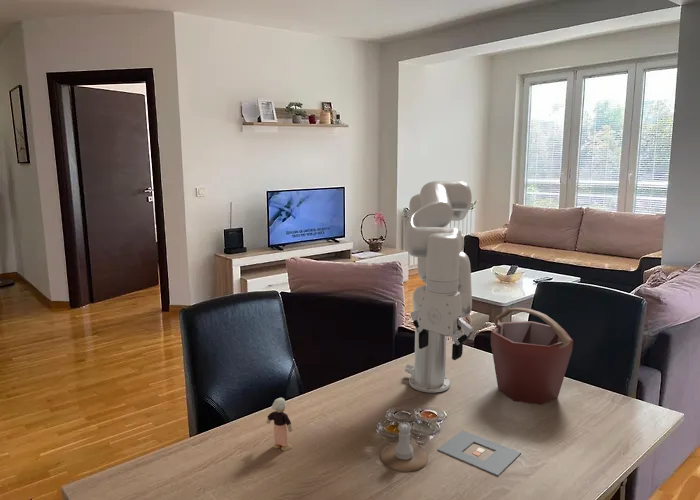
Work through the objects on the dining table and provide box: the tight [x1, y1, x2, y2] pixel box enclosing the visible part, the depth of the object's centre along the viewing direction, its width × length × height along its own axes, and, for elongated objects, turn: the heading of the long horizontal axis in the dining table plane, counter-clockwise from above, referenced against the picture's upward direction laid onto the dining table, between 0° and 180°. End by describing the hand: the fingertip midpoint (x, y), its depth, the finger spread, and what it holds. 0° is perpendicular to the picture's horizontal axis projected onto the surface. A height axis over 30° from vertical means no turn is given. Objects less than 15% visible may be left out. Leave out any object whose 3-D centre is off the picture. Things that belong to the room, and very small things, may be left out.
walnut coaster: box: [380, 443, 429, 473], centre depth 127 cm, size 11×11×1 cm
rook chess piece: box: [395, 421, 414, 460], centre depth 127 cm, size 4×4×8 cm
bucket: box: [490, 307, 574, 406], centre depth 160 cm, size 24×22×25 cm
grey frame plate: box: [436, 429, 522, 477], centre depth 130 cm, size 16×12×1 cm
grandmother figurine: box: [265, 397, 294, 452], centre depth 132 cm, size 8×4×13 cm, turn 71°
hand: (439, 352), depth 131 cm, fingers open, 9 cm apart
